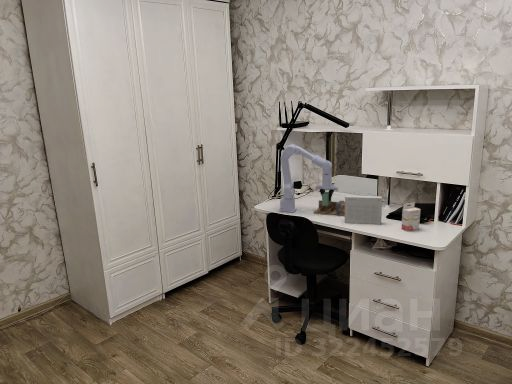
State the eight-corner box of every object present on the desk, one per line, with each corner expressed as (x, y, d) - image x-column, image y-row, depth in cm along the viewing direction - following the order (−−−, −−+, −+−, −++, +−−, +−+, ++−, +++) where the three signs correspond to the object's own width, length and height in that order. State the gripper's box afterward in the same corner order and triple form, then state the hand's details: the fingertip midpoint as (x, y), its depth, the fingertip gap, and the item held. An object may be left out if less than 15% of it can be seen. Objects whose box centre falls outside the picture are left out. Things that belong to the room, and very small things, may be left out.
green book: (321, 205, 257) (322, 194, 255) (326, 201, 264) (326, 191, 263) (327, 205, 255) (327, 195, 253) (331, 202, 263) (331, 191, 261)
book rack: (313, 213, 260) (313, 202, 258) (319, 208, 270) (319, 198, 268) (344, 216, 251) (344, 204, 249) (348, 211, 261) (348, 200, 259)
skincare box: (381, 222, 238) (382, 196, 235) (381, 224, 233) (382, 198, 230) (344, 220, 244) (345, 194, 240) (344, 222, 239) (344, 197, 235)
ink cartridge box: (407, 231, 220) (409, 205, 217) (401, 228, 225) (402, 203, 221) (419, 229, 223) (421, 203, 220) (413, 226, 228) (414, 201, 224)
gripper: (314, 180, 256) (314, 201, 259) (336, 182, 250) (336, 203, 253) (317, 178, 262) (317, 198, 265) (339, 179, 256) (339, 200, 259)
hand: (326, 200), depth 259 cm, fingers closed on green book, 3 cm apart
